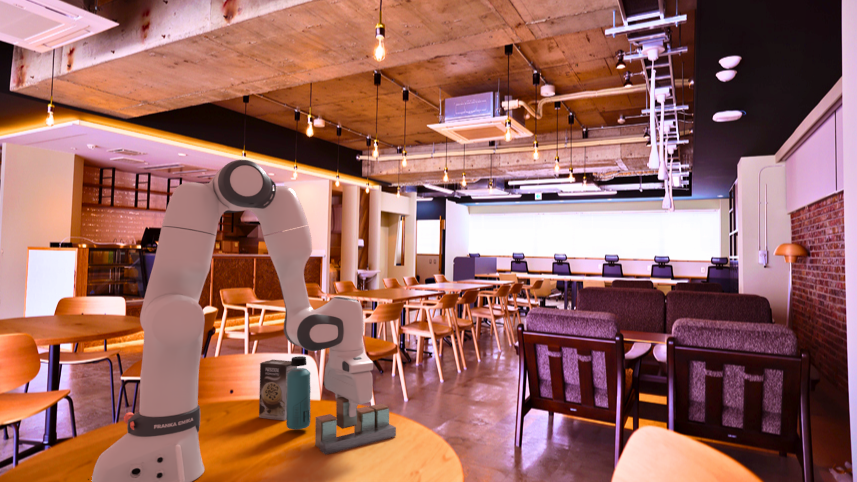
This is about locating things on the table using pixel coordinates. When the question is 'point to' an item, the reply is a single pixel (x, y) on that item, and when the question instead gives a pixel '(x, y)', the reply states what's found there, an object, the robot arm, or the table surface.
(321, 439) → the grey block holder
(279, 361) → the coffee box
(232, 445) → the table surface
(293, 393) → the beverage bottle
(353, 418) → the brown-topped upright block
